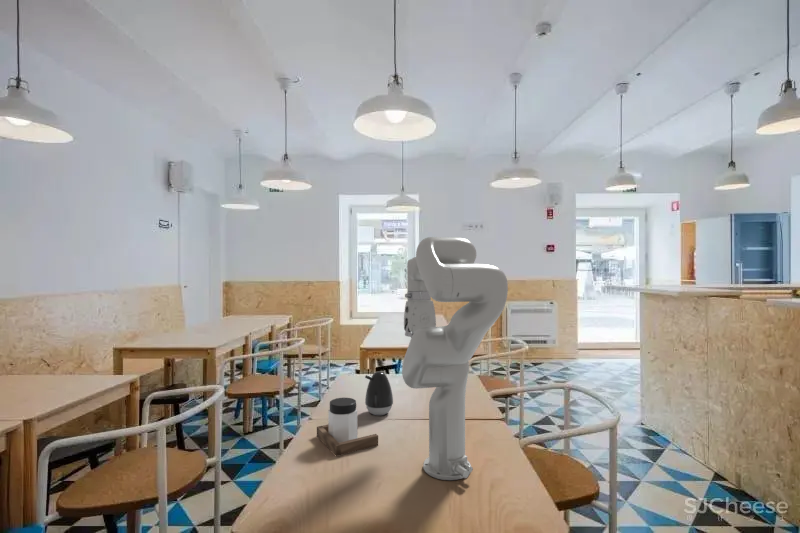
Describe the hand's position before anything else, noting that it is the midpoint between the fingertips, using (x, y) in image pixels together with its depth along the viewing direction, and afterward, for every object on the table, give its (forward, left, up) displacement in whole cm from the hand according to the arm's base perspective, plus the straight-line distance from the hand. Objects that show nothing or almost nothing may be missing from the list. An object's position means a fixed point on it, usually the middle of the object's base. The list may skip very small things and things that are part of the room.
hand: (419, 353), depth 133 cm
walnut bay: (+7, +22, -26) cm, 34 cm away
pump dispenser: (+23, +3, -26) cm, 34 cm away
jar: (+8, +24, -26) cm, 36 cm away
